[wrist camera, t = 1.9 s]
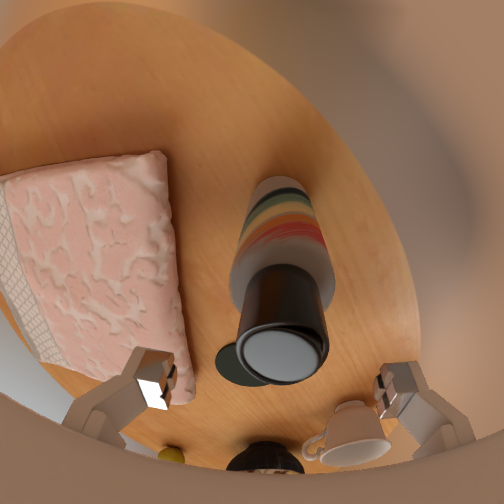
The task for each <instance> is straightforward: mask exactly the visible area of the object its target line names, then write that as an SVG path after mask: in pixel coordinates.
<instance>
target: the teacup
mask: <svg viewBox="0 0 504 504" xmlns="http://www.w3.org/2000/svg"><path fill="white" fill-rule="evenodd" d="M325 434H326V437H325V448H321V447H319V448H318V449H317V453H316V454H314V455H310V454H308V453H307V448H308V446H309V445H310V444H311V443H313V442H315V441H317V440H319V439H321V438H322V437H323V436H324V435H325ZM391 446H392V442H391V441H389V440H387V438H386V437H385V434H384V432H383V429H382V426H381V424H380V421H379V418H378V416H377V414H376V413H375V411H374V410H372V409H371V408H369V407H365V403H364V402H362V401H358V400H353V401H347V402H345V403H342V404H340V405H339V406H337V407H336V409H335V414H334V415H332V416H331V418H330V419H329V421H328V423H327V426H326V428H325V429H324V430H323V431H322V432H321V433H320V434H318V435H316V436H313V437H311V438H309V439H308V440H307V441H306V442H305V443H304V444H303V446H302V454H303V457H304V458H305V459H306V460H309V461H313V460H316V459H318V457H319V455H320V452H321V453H322V455H321V457H320V461H321V462H322V463H323V464H325V465H327V466H333V467H346V466H354V465H358V464H363V463H366V462H369V461H372V460H374V459H376V458H378V457H380V456H382V455H384V454H385V453H386V452H387V451H388V450H389V449H390V448H391Z"/></svg>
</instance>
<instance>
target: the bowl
mask: <svg viewBox="0 0 504 504" xmlns="http://www.w3.org/2000/svg"><path fill="white" fill-rule="evenodd" d="M226 470H227V471H237V472H248V473H264V474H305V472H304V468H303V466H302V465H301V463H300V462H299V460H297V459H296V458H295V457H294V456H293V455H292V454H290V453H289V452H288V451H287V450H286V448H285V446H283V445H281V444H279V443H275V442H257V443H253V444H251V445H249V446H248V448H247V449H246V450H245V451H243V452H241V453H240V454H238V455H237V456H236V457H234V458H233V459H232V460H231V462H230V463H229V464H228V466H227V468H226Z"/></svg>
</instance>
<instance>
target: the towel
mask: <svg viewBox="0 0 504 504" xmlns="http://www.w3.org/2000/svg"><path fill="white" fill-rule="evenodd" d="M168 196H169V193H168V176H167V158H166V156H165V155H164V154H162V152H161V151H150V153H146V154H144V155H139V156H138V155H128V154H127V155H122V156H121V157H118V156H117V157H114V156H108V157H101V158H90V159H84V160H80V161H71V162H66V163H60V164H54V165H46V166H42V167H35V168H31V169H27V170H21V171H16V172H14V173H10V174H6V175H2V176H0V290H1V292H2V294H3V296H4V298H5V300H6V302H7V304H8V306H9V308H10V310H11V312H12V315H13V317H14V319H15V321H16V323H17V325H18V327H19V329H20V331H21V333H22V335H23V337H24V338H25V340H26V342H27V344H28V346H29V347H30V350H31V351H32V353H33V355H34V358H35V359H36V360H37V361H39V362H46V363H50V364H51V363H53V364H56V365H59V366H62V367H64V368H67V369H70V370H74V371H77V372H80V373H82V374H83V375H86V376H88V377H91V378H93V379H96V380H99V381H103V382H106V381H107V380H109V379H111V378H112V377H114V376H116V375H121V373H122V371H123V369H124V367H125V365H126V363H127V361H128V359H129V357H130V355H131V353H132V351H133V349H134V348H135V347H136V346H140V347H145V348H151V349H156V350H161V351H166V352H171V353H174V357H175V360H174V363H173V364H175V365H176V367H177V382H176V386H175V388H174V389H173V390H172V391H170V392H171V395H172V398H171V401H170V404H174V405H179V404H186V403H189V402H191V401H192V400H193V399H194V398H195V394H196V385H195V376H194V373H193V368H192V363H191V359H190V354H189V350H188V344H187V338H186V334H185V324H184V318H183V314H182V312H181V311H182V304H181V298H180V293H179V292H178V289H177V286H178V285H179V283H178V281H179V279H178V274H177V263H176V246H175V234H174V229H173V226H172V224H171V221H170V219H171V218H172V212H171V205H170V203H169V201H168Z"/></svg>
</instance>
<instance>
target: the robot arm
mask: <svg viewBox="0 0 504 504" xmlns="http://www.w3.org/2000/svg"><path fill="white" fill-rule="evenodd" d="M174 360H175V357H174V353H171V352H166V351H161V350H156V349H151V348H145V347H140V346H136V347H135V348H134V349H133V351H132V353H131V355H130V357H129V359H128V361H127V363H126V365H125V367H124V369H123V371H122V373H121V375H116V376H114V377H112V378H111V379H109V380H107V381H106V382H104V383H102V384H101V385H99V386H98V387H96V388H94V389H93V390H91V391H89V392H87V393H86V394H84V395H82V396H81V397H79V398H77V399H76V400H74V401H73V403H72V405H71V407H70V409H69V411H68V412H67V415H66V416H65V418H64V420H63V422H62V424H59V423H56V422H54V421H52V420H50V419H48V418H46V417H44V416H42V415H40V414H38V413H36V412H34V411H33V410H31V409H29V408H27V407H25V406H23V405H22V404H20V403H18V402H17V401H15V400H13V399H12V398H10V397H9V396H7V395H5V394H3V393H0V504H504V429H502V430H500V431H498V432H496V433H494V434H491V435H489V436H487V437H484V438H482V439H479V440H476V438H475V436H474V433H473V430H472V428H471V425H470V422H469V420H468V418H467V417H466V416H465V415H463V414H462V413H461V412H460V411H459V410H457V409H456V408H455V407H454V406H452V405H451V404H450V403H449V402H447V401H446V400H445V399H444V398H442V397H441V396H440V395H438V394H437V393H436V392H435V391H433V390H429V387H428V385H427V383H426V380H425V378H424V375H423V373H422V371H421V368H420V366H419V364H418V362H417V361H409V362H395V363H384V364H383V365H382V366H381V368H380V372H381V373H380V374H379V375H377V376H376V378H375V380H374V382H373V396H374V398H375V399H376V400H377V401H378V404H377V406H376V408H377V412H378V416H379V419H388V418H397V417H398V418H397V419H398V420H399V421H400V422H401V423H402V425H403V426H404V427H405V428H406V429H407V430H408V431H409V433H410V434H411V435H412V436H413V437H414V438H415V439H416V440H417V442H418V443H419V444H420V445H421V447H420V448H419V449H418V450H416V451H415V452H414V454H413V455H412V456H413V460H411V461H407V462H403V463H398V464H393V465H387V466H382V467H375V468H369V469H362V470H354V471H344V472H333V473H317V474H264V473H248V472H237V471H227V470H219V469H211V468H205V467H198V466H193V465H187V464H182V463H177V462H172V461H168V460H163V459H159V458H155V457H151V456H147V455H143V454H140V453H136V452H133V451H130V450H126V449H125V446H126V443H125V441H124V440H123V438H122V437H121V436H120V434H119V433H118V432H119V431H120V430H122V429H123V428H124V427H125V426H126V425H128V424H129V423H130V422H131V421H132V420H133V419H135V418H136V417H137V416H138V415H139V414H141V413H142V412H143V411H144V410H145V409H146V408H148V407H147V406H149V407H154V408H159V409H165V410H168V408H169V405H170V401H171V398H172V395H171V392H170V391H172V390H173V389H174V388H175V386H176V382H177V367H176V365H175V364H173V363H174Z"/></svg>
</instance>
